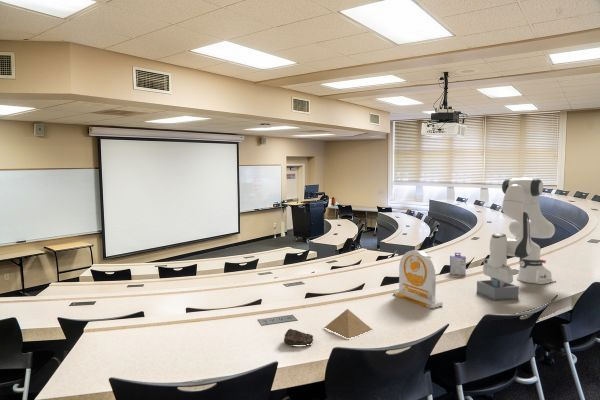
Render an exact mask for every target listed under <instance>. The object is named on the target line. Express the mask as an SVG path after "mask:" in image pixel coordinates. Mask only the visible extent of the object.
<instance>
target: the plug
mask: <svg viewBox="0 0 600 400" xmlns="http://www.w3.org/2000/svg"><path fill="white" fill-rule="evenodd" d="M498 285H500V280H497V279H494V278H492V287H495V288H497V287H499V286H498Z"/></svg>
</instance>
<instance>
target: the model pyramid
mask: <svg viewBox="0 0 600 400" xmlns="http://www.w3.org/2000/svg"><path fill="white" fill-rule="evenodd" d="M323 328H327V329H329V330H331V331H333V332H336V333H338V334H340V335H342V336H344V337H346V338H351V337H355V336H358V335H360V334H363V333H365V332H368V331H370V330H373V328H372V327H370V326H369V325H368V324H367V323H365V322H364V321H363V320H362V319H360V318H359V317H358V316H357V315H356V314H355V313H353V312H352V311H351V310H350V309H348V308H347V309H345V310H344V311H343V312H342V313H340V314H339V315H338V316H337V317H335V318H334V319H333V320H331V321H330V322H329V323H328V324H326V326H324V327H323ZM370 332H371V331H370ZM368 333H369V332H368ZM363 335H364V334H363ZM358 337H359V336H358Z"/></svg>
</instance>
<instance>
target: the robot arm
mask: <svg viewBox="0 0 600 400" xmlns="http://www.w3.org/2000/svg"><path fill="white" fill-rule="evenodd" d="M501 184H502V185H501V189H502V190H501V191H502V193H503V194H504V196H503V201H502V205H501V208H502V209H501V210H502V212H503V214H504V215H505V216H506V217H507V218H509V219H511V220H512V221H510V222H509V226H508V229H509V232H510V233H511V235H512V236H514V237H515V238H514V239H513V238H508V237H507V235H506V234H505V233H503V232H501V233H500V232H497V233H493V234H491V236H490V240H489V241H490V242H489V253H490V254H489V258H484V259H483V265H482V266H483V267H482V272H483V275H484V276H487V277H490V280H491V281H492V278H494V279H497V280H500V285H498V286H499V287H503V285H504V283H511V284H513V282H514V275H513V270H512V268H511V266H510V265H508V256H510V257H515V258H519V263H518V264H519V267H518V268H519V270H518V273H517V277H516V280H517V281H520V282H524V283H529V284H537V285H538V284H539V285H544V284H551V283H555V281H556V280H557V279H555V278H553V275H552V272H551V270H549V269H548V268H547V267H545V266H544V265H543V264H546V263H547V260H546V259H541V251H542V250H541V249H542V248H541V246H540V245H539V244H537V243H536V242H534V241H533V240H532V238H536V239H551V238H552V237H553V236H554V235H555V233H556V227H555V225H554V224H553V223H552V222H551V221H549V220H547V218H546V217H545V216H544V215H543V214H542V210H541V206H540V197H539V196H540V195H541V194H542V193H543V191H544V183H543V181H542V180H541V179H539V178H529V177H520V178H519V177H518V178H517V177H515V178H512V177H511V178H506V179H504V181H503V182H502V183H501ZM550 282H551V283H550ZM556 282H557V281H556Z"/></svg>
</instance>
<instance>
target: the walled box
mask: <svg viewBox="0 0 600 400" xmlns="http://www.w3.org/2000/svg"><path fill="white" fill-rule="evenodd" d="M519 289H520V287H519V286H518V285H515V284H513V283H504V285H503V287H497V288H495V287H492V281H491V279H484V280H476V294H479V295H481V296H482V297H485V298H487V299H489V300H491V301H494V302H498V301H508V300H518V299H519V292H520V291H519Z"/></svg>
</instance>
